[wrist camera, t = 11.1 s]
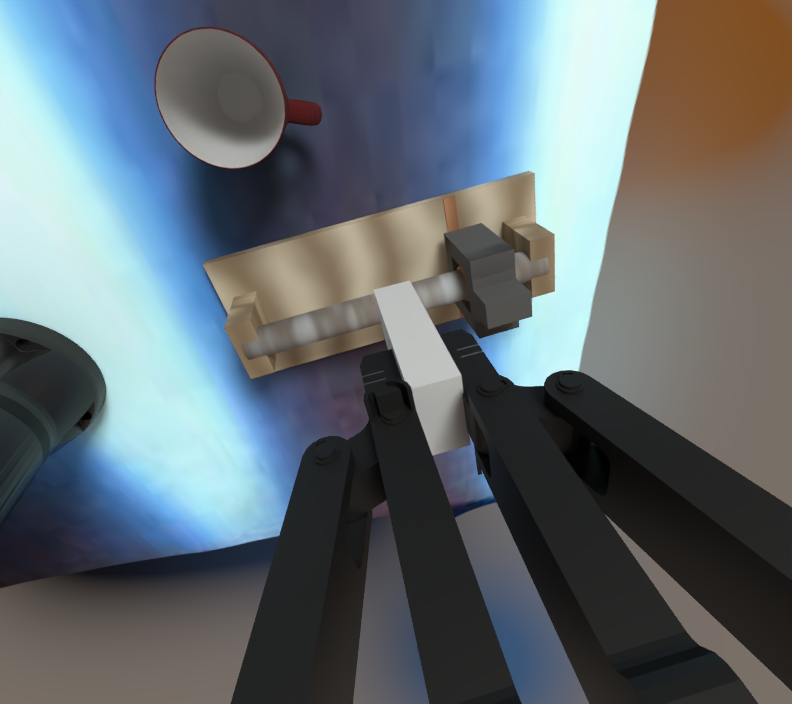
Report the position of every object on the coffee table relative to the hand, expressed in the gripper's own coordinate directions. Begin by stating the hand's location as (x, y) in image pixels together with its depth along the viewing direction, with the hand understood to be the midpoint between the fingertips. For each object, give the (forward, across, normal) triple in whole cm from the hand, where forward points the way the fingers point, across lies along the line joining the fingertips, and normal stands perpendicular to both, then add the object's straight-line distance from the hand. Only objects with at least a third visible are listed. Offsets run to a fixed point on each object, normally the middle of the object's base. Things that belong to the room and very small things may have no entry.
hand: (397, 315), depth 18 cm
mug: (+29, -5, +8) cm, 30 cm away
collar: (+26, +11, -11) cm, 30 cm away
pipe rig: (+28, +2, -11) cm, 30 cm away
